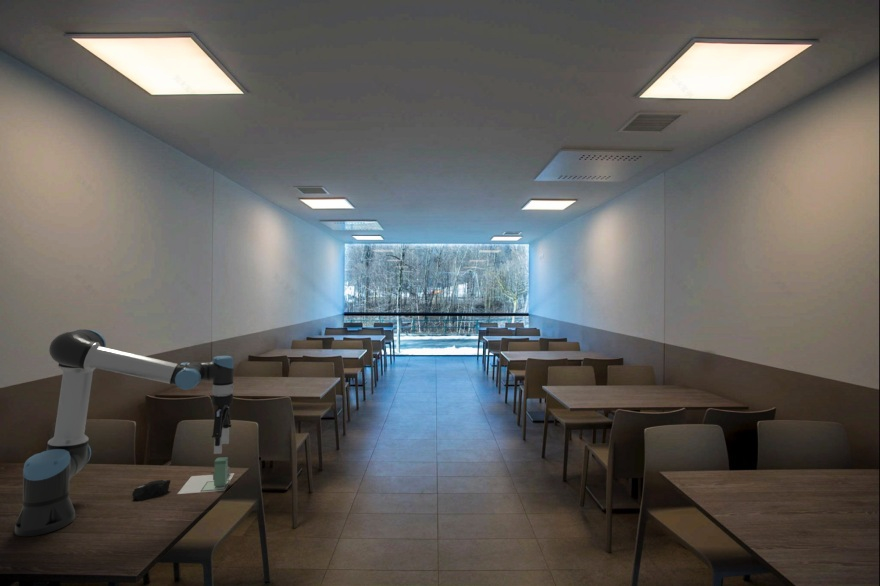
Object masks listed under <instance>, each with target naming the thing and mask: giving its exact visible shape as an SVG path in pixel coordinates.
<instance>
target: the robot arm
mask: <svg viewBox="0 0 880 586" xmlns="http://www.w3.org/2000/svg"><path fill="white" fill-rule="evenodd" d="M48 351H49V355H50V357H51V359H53V361H54V362H56V363H58V366H57V367H58V368H60V369H61V370H62V378H61V385H60V392H59V399H58V407H57V413H56V421H55V427H54V434H53V435H54V436H53V437H51V438H50V439H49V440H48V441H47V445H46V450H43V451H41V452H39V453H35V454H33V455H32V456H30V457H29V458H27V459H26V460H25V462H24V464H23V465H24V466H23V469H22V508H21V510H20V512H19V515H18V517H17V519H16V522H15V524H14V534H15V535H16V536H18V537H23V538H24V537H36V536H41V535H42V536H43V535H45V534H49V533H51V532H52V533H53V532H56V531H57V530H60V529H63V528H64V527H67V526H69V524H71V523H72V522H74V520H75V518H76V510H75V507H74V505H73V502H72V500H71V498H70V480H71V479H72V478H74V476H76V475H77V474H78V473H79V472H81V470H83V469H84V468H85V467H86V465H87V464H88V463H89V461H90V458H91V456H92V450H91V446H90V445H89V442H90V441H89V439H90V437H88V435H86V434H85V431H86V424H87V417H88V412H89V411H88V410H89V404H90V397H91V388H92V381H93V374H94V371H95V370H96V369H98V370H102V371H107V372H113V373H117V374H122V375H125V376H126V375H127V376H132V377H137V378H141V379H146V380H150V381H154V382H160V383H164V384H169V385H172V386H173V385H174V386H177V387H178V388H179V389H181V390H185V391H186V390H187V391H188V390H190V389H193V388H195V387H197V385H199V383H200V382H202V381H203V382H204V381H205V382H206V381H212V397H211V398H212V400H211V402H212V406H217V408H216V410H215V411H214V421H213V430H212V435H211V438H212V439H213V455H216V454H219V455H220V454H222V453H223V445H229V444H230V428H232V424H231V412H230V411H231V410H230V408H231V407H230V405H232V404H233V402H234V394H233V392H234V388H235V385H234V374H235V373H234V371H235V370H234V369H235V365H234V358H233V356H231V355H217V356H214V357H213V360H211V361H187V362H181V363H180V364H179V363H176V362H172V361H167V360H163V359H159V358H154V357H149V356H145V355H142V354H141V355H140V354H137V353H133V352H127V351H123V350H119V349H114V348H110V347H107V343H106V339H105V337H104V336H103V335H102V334H101V333H100V332H98V331H97V330H93V329H82V328H81V329H77V330H73V331H67V332H64V333H61V334H59V335H57V336H56V337H55V338H54V339H52V341H51V343H50V345H49V350H48Z"/></svg>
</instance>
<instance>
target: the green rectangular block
mask: <svg viewBox="0 0 880 586" xmlns="http://www.w3.org/2000/svg"><path fill="white" fill-rule="evenodd" d="M213 464H214V467H213V468H214V471H213V472H214V486H216V487H223V486H225V484H226V483H227V473H228V467H229V465H228V464H229V457H228V456H225V457H224V456H223V457H217V458H216V459H214V463H213Z"/></svg>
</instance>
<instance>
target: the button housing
mask: <svg viewBox="0 0 880 586" xmlns="http://www.w3.org/2000/svg"><path fill="white" fill-rule="evenodd" d="M230 468H231V467H230V466H228V473H227V477H228V476H229V474H231V473H230V471H231V470H230ZM212 475H213V480H214V471H213V472H212Z"/></svg>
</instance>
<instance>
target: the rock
mask: <svg viewBox="0 0 880 586" xmlns="http://www.w3.org/2000/svg"><path fill="white" fill-rule="evenodd" d="M170 485H171V480H170V479H166V480H163V479H160V480H159V479H158V480H154V481H149V482H148V483H145V484H142V485H140V486H138V487H136V488H135V489H134V490H133V492H132V494H131V496H132V499H133V500H137V501H138V502H139V501H143V500H144V501H145V500H148V499H153V498H156V497H159V496H162V495H165V494H167V493H168V492H169V490H170Z"/></svg>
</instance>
